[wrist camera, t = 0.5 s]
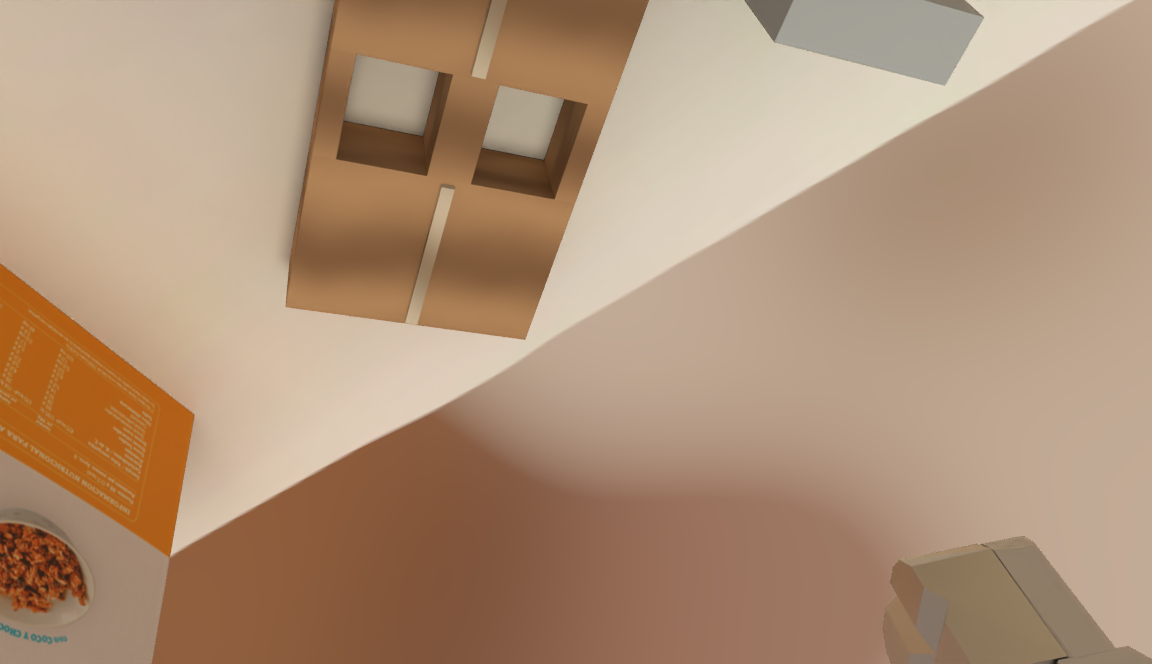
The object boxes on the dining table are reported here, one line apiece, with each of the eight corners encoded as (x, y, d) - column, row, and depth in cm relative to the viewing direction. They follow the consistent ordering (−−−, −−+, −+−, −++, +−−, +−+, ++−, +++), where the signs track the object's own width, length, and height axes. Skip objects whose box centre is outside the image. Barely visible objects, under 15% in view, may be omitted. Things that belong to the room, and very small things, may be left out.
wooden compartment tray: (369, -199, 38) (370, -171, 35) (659, -113, 42) (681, -82, 39) (289, 263, 51) (285, 311, 48) (517, 297, 55) (525, 343, 52)
